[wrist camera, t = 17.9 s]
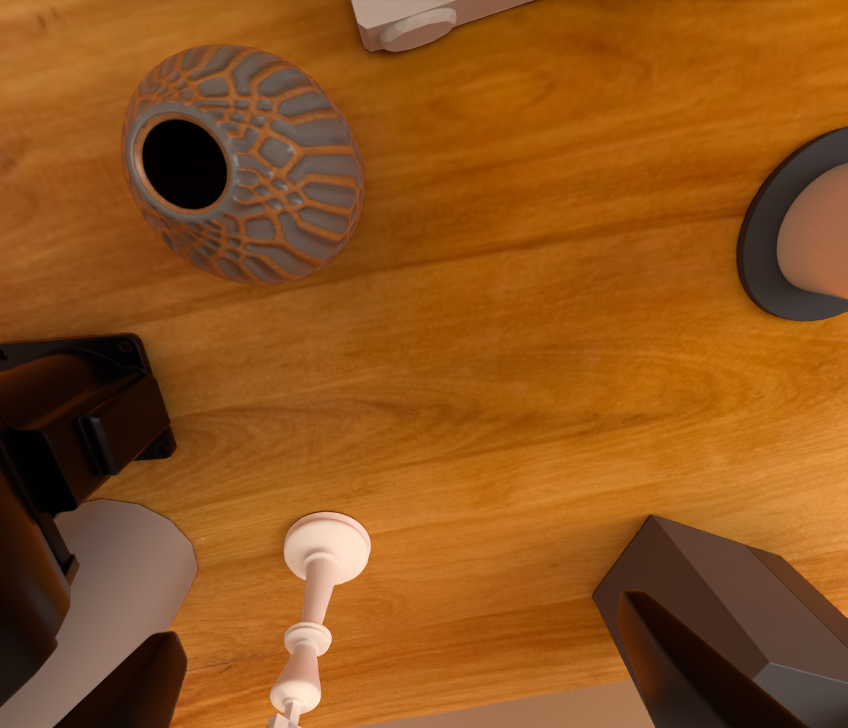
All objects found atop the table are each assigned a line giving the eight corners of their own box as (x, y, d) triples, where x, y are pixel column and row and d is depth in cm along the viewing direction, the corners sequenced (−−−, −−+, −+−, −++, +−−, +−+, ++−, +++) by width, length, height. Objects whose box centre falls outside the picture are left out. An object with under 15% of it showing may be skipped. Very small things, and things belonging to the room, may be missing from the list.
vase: (386, 113, 16) (371, 26, 8) (354, 283, 19) (317, 347, 11) (205, 60, 15) (-16, -98, 7) (195, 246, 18) (21, 284, 10)
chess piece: (326, 588, 25) (282, 812, 16) (267, 542, 24) (180, 759, 15) (388, 548, 24) (379, 760, 15) (330, 496, 23) (281, 698, 14)
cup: (208, 608, 25) (96, 842, 16) (69, 613, 25) (-128, 856, 16) (180, 497, 22) (22, 706, 13) (21, 500, 22) (-258, 718, 13)
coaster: (720, 325, 20) (726, 328, 20) (760, 131, 17) (768, 130, 17) (887, 312, 21) (895, 314, 20) (955, 118, 17) (967, 116, 17)
